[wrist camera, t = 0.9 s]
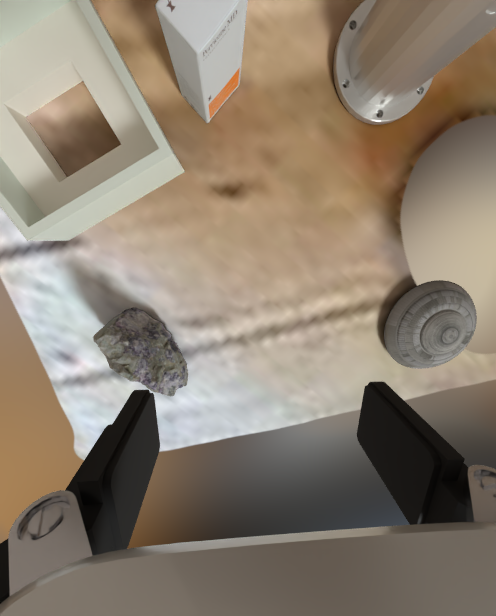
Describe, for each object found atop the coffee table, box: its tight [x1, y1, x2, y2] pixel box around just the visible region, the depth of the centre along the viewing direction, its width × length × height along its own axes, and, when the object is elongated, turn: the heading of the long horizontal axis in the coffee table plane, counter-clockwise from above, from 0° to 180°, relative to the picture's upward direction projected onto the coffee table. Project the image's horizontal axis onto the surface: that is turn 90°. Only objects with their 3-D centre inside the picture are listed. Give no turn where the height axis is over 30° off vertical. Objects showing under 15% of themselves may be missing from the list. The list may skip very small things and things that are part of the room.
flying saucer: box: [384, 281, 476, 369], centre depth 38 cm, size 15×15×6 cm
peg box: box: [0, 0, 185, 241], centre depth 26 cm, size 18×18×7 cm
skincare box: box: [155, 0, 248, 123], centre depth 24 cm, size 6×4×12 cm
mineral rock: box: [93, 308, 188, 396], centre depth 33 cm, size 13×11×10 cm
